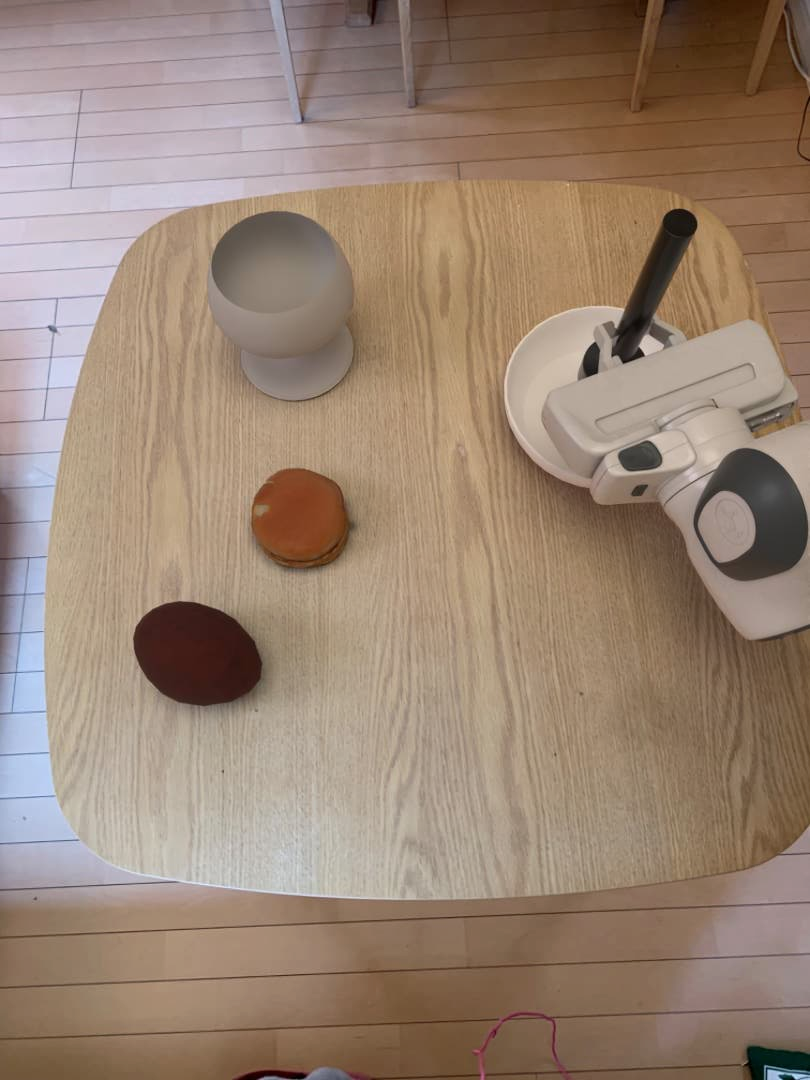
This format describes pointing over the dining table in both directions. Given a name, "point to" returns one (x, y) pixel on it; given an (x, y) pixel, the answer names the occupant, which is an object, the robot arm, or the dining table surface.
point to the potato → (196, 654)
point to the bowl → (553, 378)
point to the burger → (300, 518)
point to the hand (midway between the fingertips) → (621, 319)
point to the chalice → (284, 303)
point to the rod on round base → (647, 289)
